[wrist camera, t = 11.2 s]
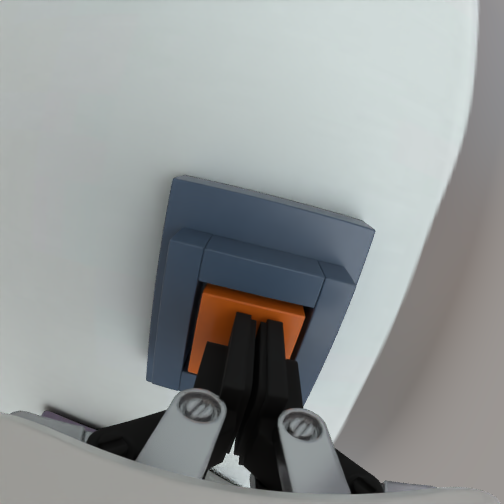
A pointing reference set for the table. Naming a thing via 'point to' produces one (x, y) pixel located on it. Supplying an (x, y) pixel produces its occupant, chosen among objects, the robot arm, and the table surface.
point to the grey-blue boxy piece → (251, 269)
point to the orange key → (223, 314)
